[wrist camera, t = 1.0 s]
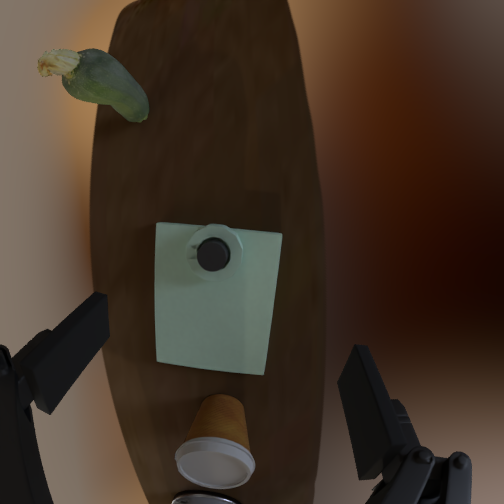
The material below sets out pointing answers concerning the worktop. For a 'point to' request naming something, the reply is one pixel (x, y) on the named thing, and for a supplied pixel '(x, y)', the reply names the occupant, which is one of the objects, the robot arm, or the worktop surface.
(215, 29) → the worktop surface
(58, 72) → the vegetable
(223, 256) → the button
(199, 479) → the disposable coffee cup
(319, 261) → the worktop surface
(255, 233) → the scale
